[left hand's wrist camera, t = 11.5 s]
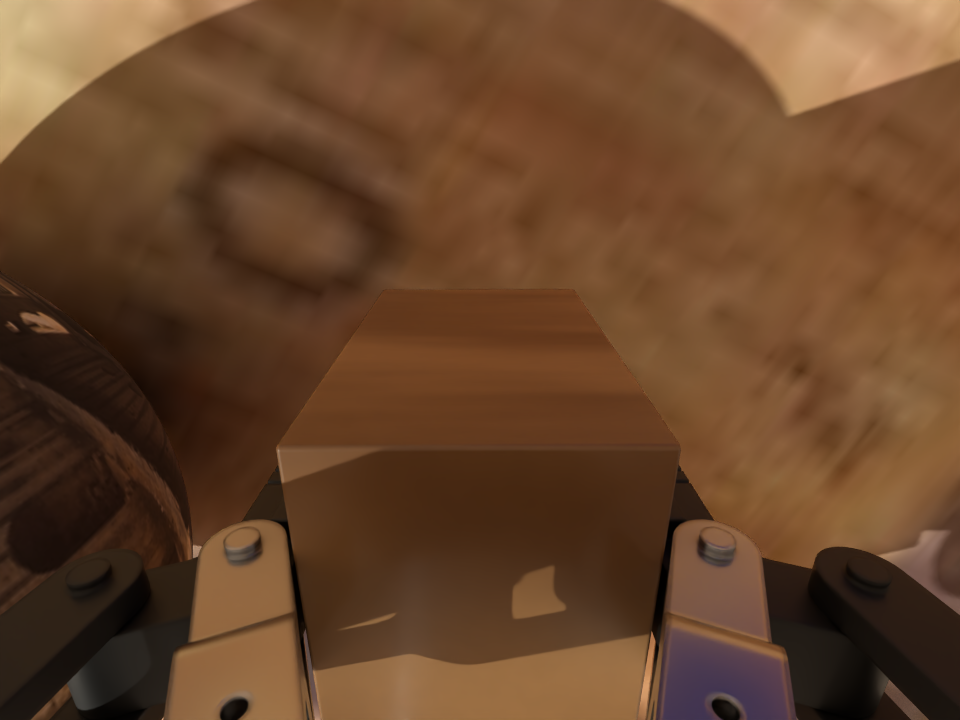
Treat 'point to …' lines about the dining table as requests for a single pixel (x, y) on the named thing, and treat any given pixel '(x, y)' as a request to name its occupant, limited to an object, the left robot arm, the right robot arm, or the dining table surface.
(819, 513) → the dining table surface
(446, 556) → the bar
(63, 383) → the sphere
